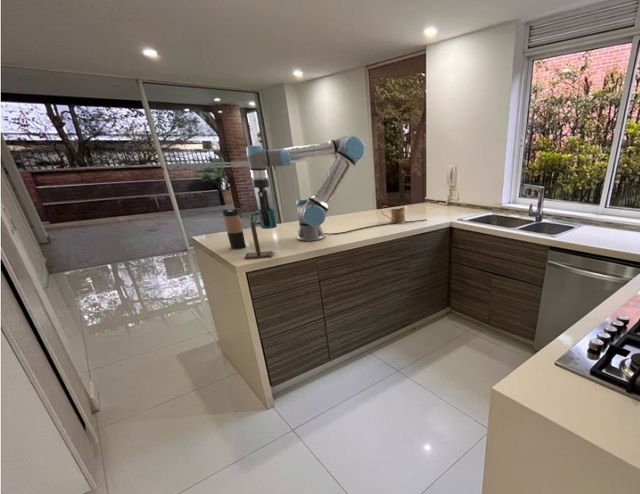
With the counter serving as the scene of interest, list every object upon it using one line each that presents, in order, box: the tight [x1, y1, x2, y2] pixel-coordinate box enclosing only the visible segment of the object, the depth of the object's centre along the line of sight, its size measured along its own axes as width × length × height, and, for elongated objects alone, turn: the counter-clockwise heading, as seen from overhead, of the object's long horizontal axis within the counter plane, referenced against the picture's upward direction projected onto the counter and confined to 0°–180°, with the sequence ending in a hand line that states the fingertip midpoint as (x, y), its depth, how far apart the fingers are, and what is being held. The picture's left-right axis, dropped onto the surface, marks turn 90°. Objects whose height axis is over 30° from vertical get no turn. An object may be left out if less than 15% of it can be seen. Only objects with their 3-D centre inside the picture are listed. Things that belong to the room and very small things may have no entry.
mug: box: [380, 205, 407, 225], centre depth 246 cm, size 12×18×12 cm, turn 96°
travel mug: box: [222, 208, 246, 250], centre depth 183 cm, size 8×8×20 cm
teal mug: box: [249, 208, 278, 230], centre depth 177 cm, size 12×8×9 cm, turn 107°
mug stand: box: [244, 218, 274, 260], centre depth 171 cm, size 12×14×18 cm
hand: (268, 224), depth 179 cm, fingers closed on teal mug, 8 cm apart
